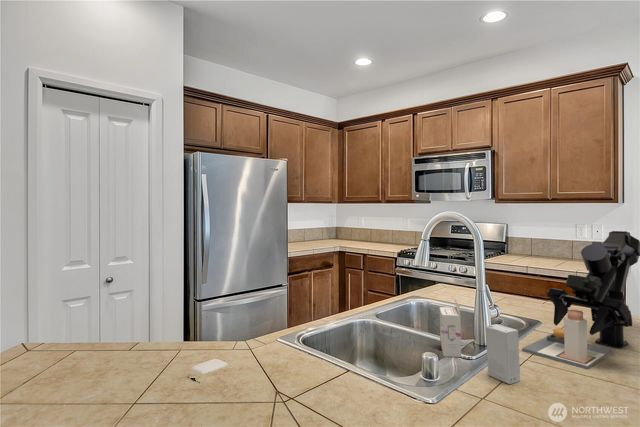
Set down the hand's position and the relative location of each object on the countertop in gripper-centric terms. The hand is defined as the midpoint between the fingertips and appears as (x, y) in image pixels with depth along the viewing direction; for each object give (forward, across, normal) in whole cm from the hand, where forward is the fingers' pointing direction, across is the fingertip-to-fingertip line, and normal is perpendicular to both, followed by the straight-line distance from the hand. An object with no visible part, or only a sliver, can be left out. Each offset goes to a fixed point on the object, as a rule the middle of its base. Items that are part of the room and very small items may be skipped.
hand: (572, 328), depth 100 cm
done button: (-3, -10, +12) cm, 16 cm away
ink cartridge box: (+23, -20, -10) cm, 32 cm away
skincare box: (+24, -1, -11) cm, 26 cm away
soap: (+68, -36, -56) cm, 95 cm away
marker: (+4, 0, +6) cm, 8 cm away
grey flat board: (+2, -5, +10) cm, 11 cm away
